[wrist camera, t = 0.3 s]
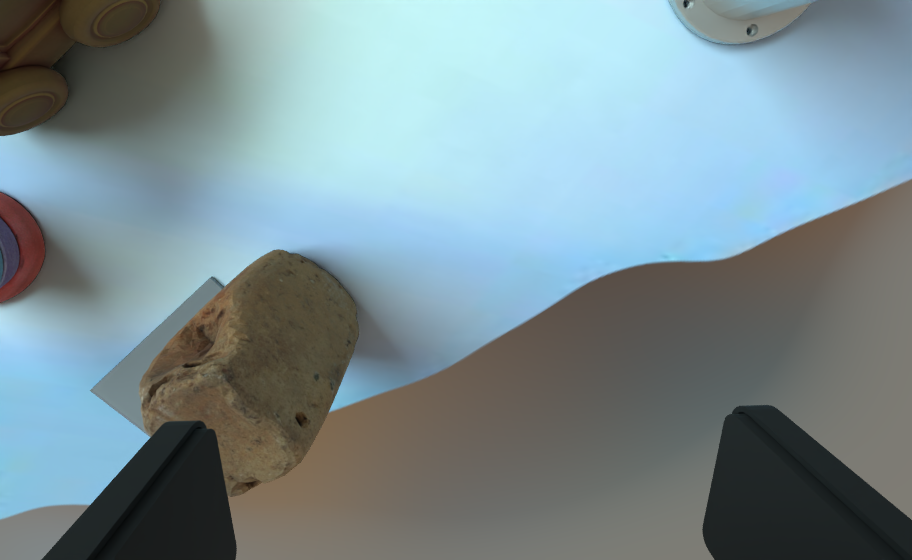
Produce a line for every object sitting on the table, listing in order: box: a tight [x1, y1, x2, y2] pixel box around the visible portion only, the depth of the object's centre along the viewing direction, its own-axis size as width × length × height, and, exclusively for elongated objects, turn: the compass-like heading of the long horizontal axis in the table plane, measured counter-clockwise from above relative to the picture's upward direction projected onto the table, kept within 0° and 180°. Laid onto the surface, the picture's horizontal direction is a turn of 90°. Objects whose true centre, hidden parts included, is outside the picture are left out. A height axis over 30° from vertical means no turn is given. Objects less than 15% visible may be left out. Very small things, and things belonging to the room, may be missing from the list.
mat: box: [90, 277, 224, 437], centre depth 47 cm, size 18×12×1 cm, turn 130°
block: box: [139, 250, 359, 497], centre depth 35 cm, size 11×8×20 cm
